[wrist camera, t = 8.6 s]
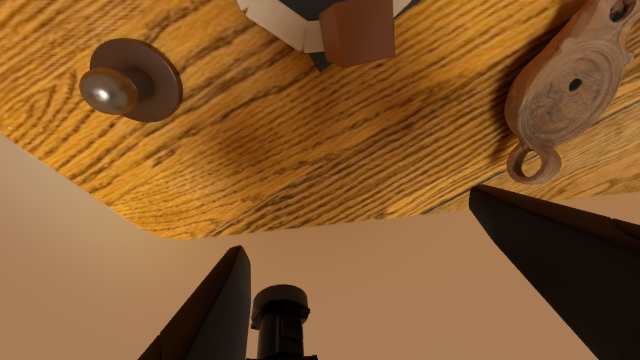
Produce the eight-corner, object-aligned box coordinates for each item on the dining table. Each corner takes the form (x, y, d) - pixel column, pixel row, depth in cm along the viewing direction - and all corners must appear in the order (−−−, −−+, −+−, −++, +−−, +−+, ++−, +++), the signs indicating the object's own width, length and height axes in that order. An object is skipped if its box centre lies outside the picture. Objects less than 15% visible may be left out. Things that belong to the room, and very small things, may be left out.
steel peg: (170, 132, 18) (139, 158, 14) (89, 97, 16) (28, 116, 12) (192, 67, 16) (163, 76, 12) (103, 20, 14) (36, 13, 10)
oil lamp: (551, -20, 16) (648, -41, 12) (628, 12, 18) (737, 4, 14) (455, 157, 22) (496, 186, 18) (519, 169, 24) (570, 198, 20)
